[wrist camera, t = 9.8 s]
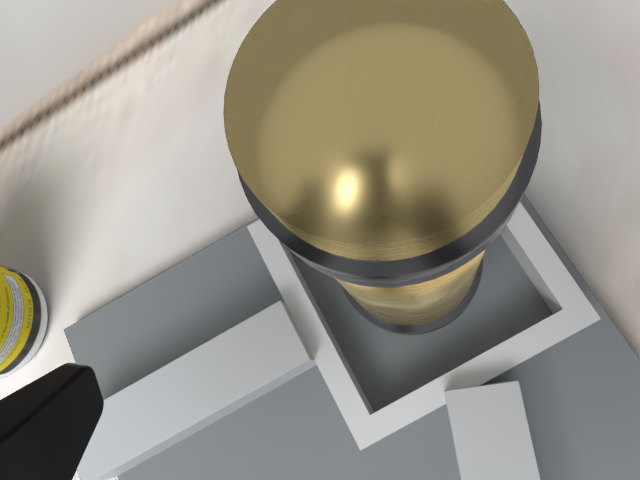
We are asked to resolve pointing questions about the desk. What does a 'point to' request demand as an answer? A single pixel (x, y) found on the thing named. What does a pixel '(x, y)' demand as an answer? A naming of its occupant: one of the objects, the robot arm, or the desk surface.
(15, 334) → the supplement bottle
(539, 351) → the coupling station
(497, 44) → the disc
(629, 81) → the desk surface
